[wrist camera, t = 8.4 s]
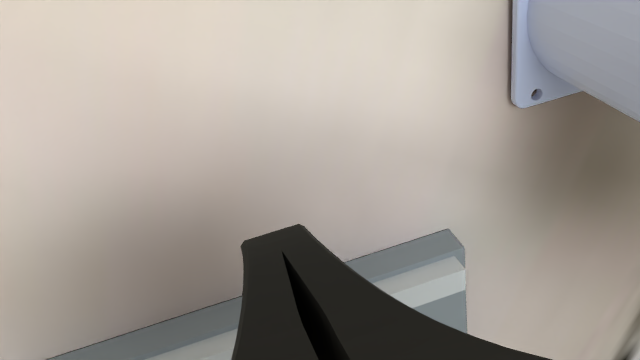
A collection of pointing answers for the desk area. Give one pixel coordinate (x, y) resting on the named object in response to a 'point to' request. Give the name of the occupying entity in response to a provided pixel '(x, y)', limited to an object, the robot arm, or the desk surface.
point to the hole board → (378, 268)
